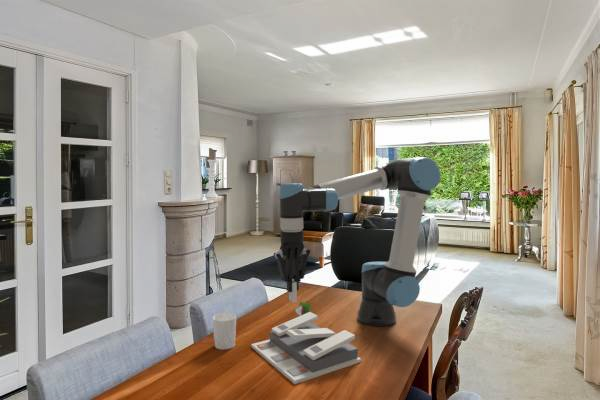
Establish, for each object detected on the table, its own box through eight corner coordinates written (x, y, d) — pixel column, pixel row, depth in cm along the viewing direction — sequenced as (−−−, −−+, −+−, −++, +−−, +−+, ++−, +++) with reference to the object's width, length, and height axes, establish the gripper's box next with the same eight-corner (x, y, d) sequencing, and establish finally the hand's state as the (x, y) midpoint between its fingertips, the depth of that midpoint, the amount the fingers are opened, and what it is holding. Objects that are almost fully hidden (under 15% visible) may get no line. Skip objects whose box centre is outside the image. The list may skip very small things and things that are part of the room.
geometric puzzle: (300, 308, 163) (296, 297, 158) (316, 310, 161) (312, 298, 156) (296, 323, 158) (291, 312, 153) (312, 325, 156) (308, 314, 151)
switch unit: (310, 331, 144) (310, 321, 144) (361, 361, 121) (361, 349, 120) (251, 347, 132) (251, 335, 131) (294, 384, 108) (294, 370, 108)
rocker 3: (345, 333, 125) (344, 329, 125) (355, 338, 121) (354, 334, 121) (303, 353, 117) (303, 349, 117) (313, 360, 113) (312, 356, 113)
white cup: (231, 351, 128) (231, 321, 128) (209, 349, 130) (208, 320, 129) (240, 341, 136) (239, 313, 135) (218, 339, 138) (218, 312, 137)
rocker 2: (326, 331, 134) (326, 327, 134) (335, 336, 129) (335, 332, 129) (286, 333, 125) (286, 329, 125) (294, 339, 121) (295, 335, 121)
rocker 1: (310, 314, 142) (310, 311, 142) (318, 319, 138) (317, 315, 138) (272, 331, 134) (271, 328, 134) (279, 336, 130) (278, 333, 129)
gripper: (302, 227, 135) (303, 294, 136) (268, 230, 128) (270, 301, 130) (314, 229, 128) (315, 300, 130) (279, 233, 122) (281, 307, 123)
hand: (293, 300), depth 130 cm, fingers closed
